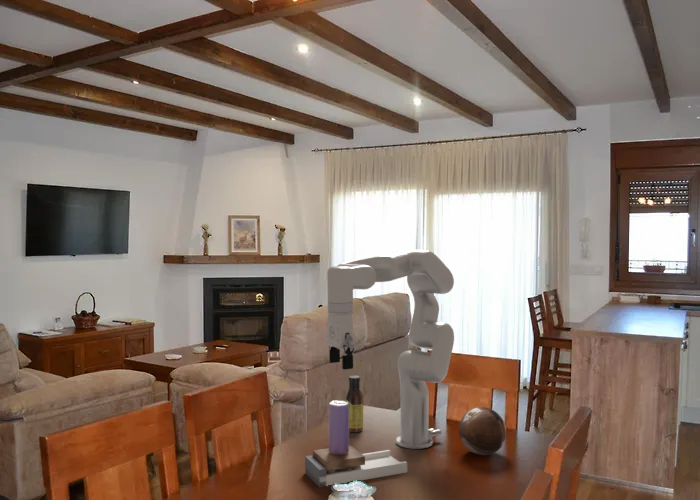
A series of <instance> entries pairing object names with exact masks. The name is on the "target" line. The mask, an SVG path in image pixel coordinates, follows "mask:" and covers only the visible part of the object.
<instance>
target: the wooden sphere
mask: <svg viewBox="0 0 700 500" xmlns="http://www.w3.org/2000/svg"><path fill="white" fill-rule="evenodd" d="M458 426H459V427H458V433H459V439H460V440H461V443H462V445H464V447H465V448H466V449H467V450H468V451H470V452H471V453H473V454H476V455H479V456H489V455H493V454H494V453H496V452H498V451H499V450H500V449H501V448H502V447H503V446H504V443H505V441H506V438H507V427H506V423H505V422H504V419H503V417H501V415H500V414H499V413H498V412H497V411H495V410H493V409H492V408H489V407H486V406H478V407H473V408H471V409H469V410H468V411H466V412H465V413H464V415H463V416H462V418H461V420H460V422H459V425H458Z"/></svg>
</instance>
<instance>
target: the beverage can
mask: <svg viewBox="0 0 700 500" xmlns="http://www.w3.org/2000/svg"><path fill="white" fill-rule="evenodd" d="M328 404H329V405H328V448H329V452H330V454H331V455H334V456H344V455H346V454H347V453H348V452H349V445H350V436H349V435H350V432H349V405H348V402H347V401H346V400H337V399H334V400H332V401H330V402H329V403H328Z"/></svg>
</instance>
